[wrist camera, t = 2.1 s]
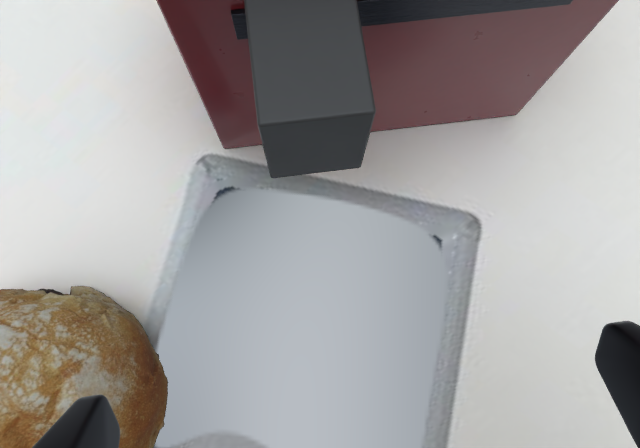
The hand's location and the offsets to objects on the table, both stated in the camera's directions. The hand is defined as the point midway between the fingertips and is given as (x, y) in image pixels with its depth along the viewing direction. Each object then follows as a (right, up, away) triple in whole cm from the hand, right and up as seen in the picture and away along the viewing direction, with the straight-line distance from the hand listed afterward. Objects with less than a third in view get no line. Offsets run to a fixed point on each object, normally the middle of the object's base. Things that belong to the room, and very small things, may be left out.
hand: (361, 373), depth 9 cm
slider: (-1, +6, +8) cm, 10 cm away
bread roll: (-12, -5, +13) cm, 18 cm away
